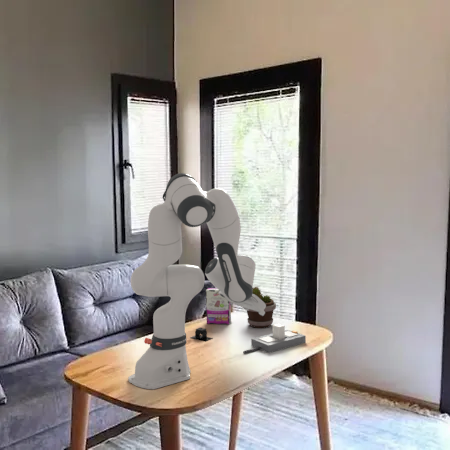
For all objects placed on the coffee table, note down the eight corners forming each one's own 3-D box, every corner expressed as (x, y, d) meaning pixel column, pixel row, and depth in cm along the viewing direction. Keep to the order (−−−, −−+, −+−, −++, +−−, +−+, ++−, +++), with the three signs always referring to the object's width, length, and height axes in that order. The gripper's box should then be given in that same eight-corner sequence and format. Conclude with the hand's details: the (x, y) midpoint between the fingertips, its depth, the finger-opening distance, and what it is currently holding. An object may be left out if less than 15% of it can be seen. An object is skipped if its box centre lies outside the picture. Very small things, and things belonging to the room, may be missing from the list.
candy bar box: (231, 321, 252) (230, 288, 250) (229, 324, 247) (229, 290, 246) (208, 321, 254) (207, 287, 252) (206, 323, 249) (205, 289, 247)
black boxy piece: (217, 339, 227) (217, 329, 226) (206, 344, 221) (206, 333, 220) (195, 334, 234) (195, 324, 234) (184, 339, 228) (184, 328, 228)
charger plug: (279, 346, 215) (279, 327, 214) (272, 343, 218) (272, 324, 217) (284, 344, 216) (284, 325, 216) (278, 342, 220) (278, 323, 219)
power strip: (252, 357, 202) (252, 348, 202) (234, 350, 211) (234, 341, 210) (305, 342, 219) (305, 333, 218) (287, 336, 227) (287, 328, 227)
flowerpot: (259, 319, 256) (258, 278, 254) (283, 325, 244) (282, 282, 242) (237, 325, 246) (237, 283, 244) (261, 332, 235) (261, 287, 233)
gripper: (256, 288, 194) (277, 310, 201) (224, 280, 211) (244, 300, 217) (247, 302, 192) (268, 323, 199) (215, 292, 209) (235, 312, 215)
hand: (255, 311), depth 208 cm, fingers open, 8 cm apart
